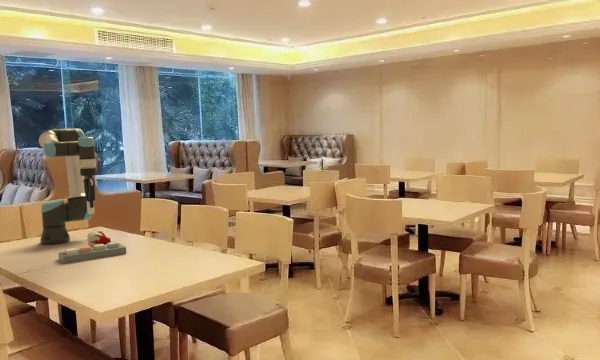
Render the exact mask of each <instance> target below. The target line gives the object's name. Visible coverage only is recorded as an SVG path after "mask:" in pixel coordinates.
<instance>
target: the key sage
mask: <svg viewBox="0 0 600 360" xmlns="http://www.w3.org/2000/svg"><path fill="white" fill-rule="evenodd" d="M105 246H106V245H104V244H98V245H94V250H95V251H96V250H102V249H105Z"/></svg>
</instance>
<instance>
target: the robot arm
mask: <svg viewBox="0 0 600 360" xmlns="http://www.w3.org/2000/svg"><path fill="white" fill-rule="evenodd" d="M94 140H95V139H94V137H93V136H86V135H85V133H84V131H83V130H82V129H81V128H74V127H73V128H51V129H48V130H45V131H43V132H42V133H41V134H39V137H38V143H39V146H40V147H41V148H42V149H43V155H44V156H45V157H46V158H56V157H57V158H58V157H65V165H66V173H67V183H68V190H69V192H68V193H69V196H68V197H67V198H66V199H67V201H65V200H64V199H63V198H62V199H61V198H60V199H54V200H50V201H46V202H43V203H42V204H41V210H40V211H41V219H42V221H41V222H42V232H41V236H40V238H39V239H40V240H39V241H40V245H57V244H58V245H59V244H63V243H64V244H65V243H68V242H70V241H71V236H70V233H69V231H68V229H67V226H66V223H69V222H79V221H86V220H87V221H88V220H90V219H91V218H92V217H93V215H94V214H95V213H96V212H95V211H96V210H95V209H96V208H95V200H96V189H95V186H96V184H95V183H96V182H95V179H94V178H93V176H96V175H97V168H96V167H97V164H96V163H97V162H96V153H95V144H96V143H95V141H94Z"/></svg>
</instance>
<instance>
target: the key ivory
mask: <svg viewBox="0 0 600 360" xmlns="http://www.w3.org/2000/svg"><path fill="white" fill-rule="evenodd" d="M77 250H78V249H77V248H76V247H73V248H72V247H71V248H66V249H65V250H64V252H66V255H70V254H76V253H77Z"/></svg>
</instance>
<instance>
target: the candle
mask: <svg viewBox="0 0 600 360" xmlns="http://www.w3.org/2000/svg"><path fill="white" fill-rule="evenodd" d="M111 242H112V240H111V238H110V237H107V236H106V234H104V231H102V230H98V229H94V230H93V231H90V232H88V234H87V246H90V247H91V248H93V247H94V245H98V244H104V245H105V246H106V245H107V243H111Z"/></svg>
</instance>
